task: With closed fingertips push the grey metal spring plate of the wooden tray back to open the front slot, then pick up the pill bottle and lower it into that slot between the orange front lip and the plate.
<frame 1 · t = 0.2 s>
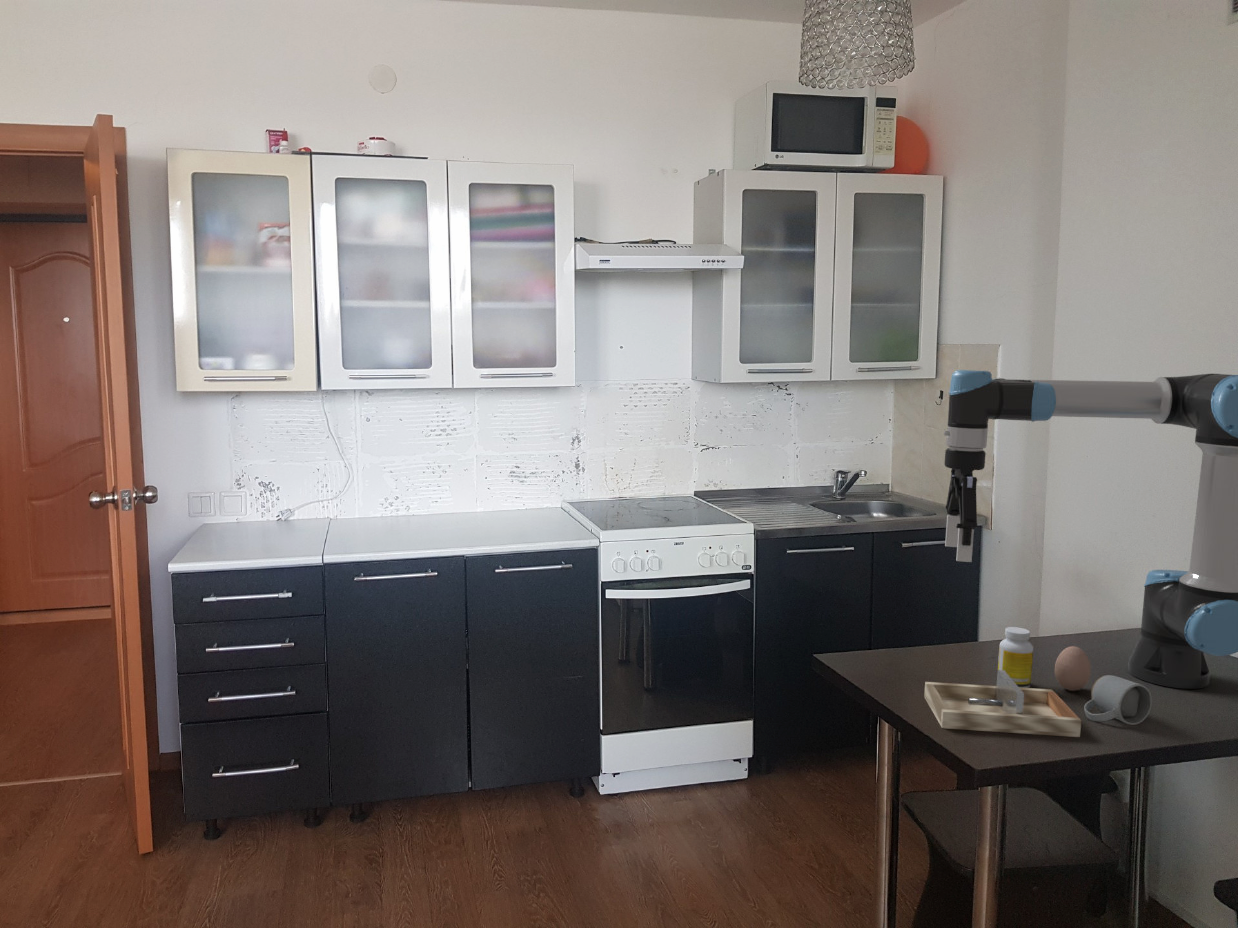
hand: (957, 553, 192), 27 cm above the table, fingers open, 13 cm apart
ceramic mug: (1113, 719, 181), on the table
pill bottle: (1013, 685, 197), on the table
pusher: (991, 695, 180), point 4 cm above the table, slide at 0.0 cm
wooden tray: (998, 715, 180), on the table
egg: (1070, 690, 195), on the table
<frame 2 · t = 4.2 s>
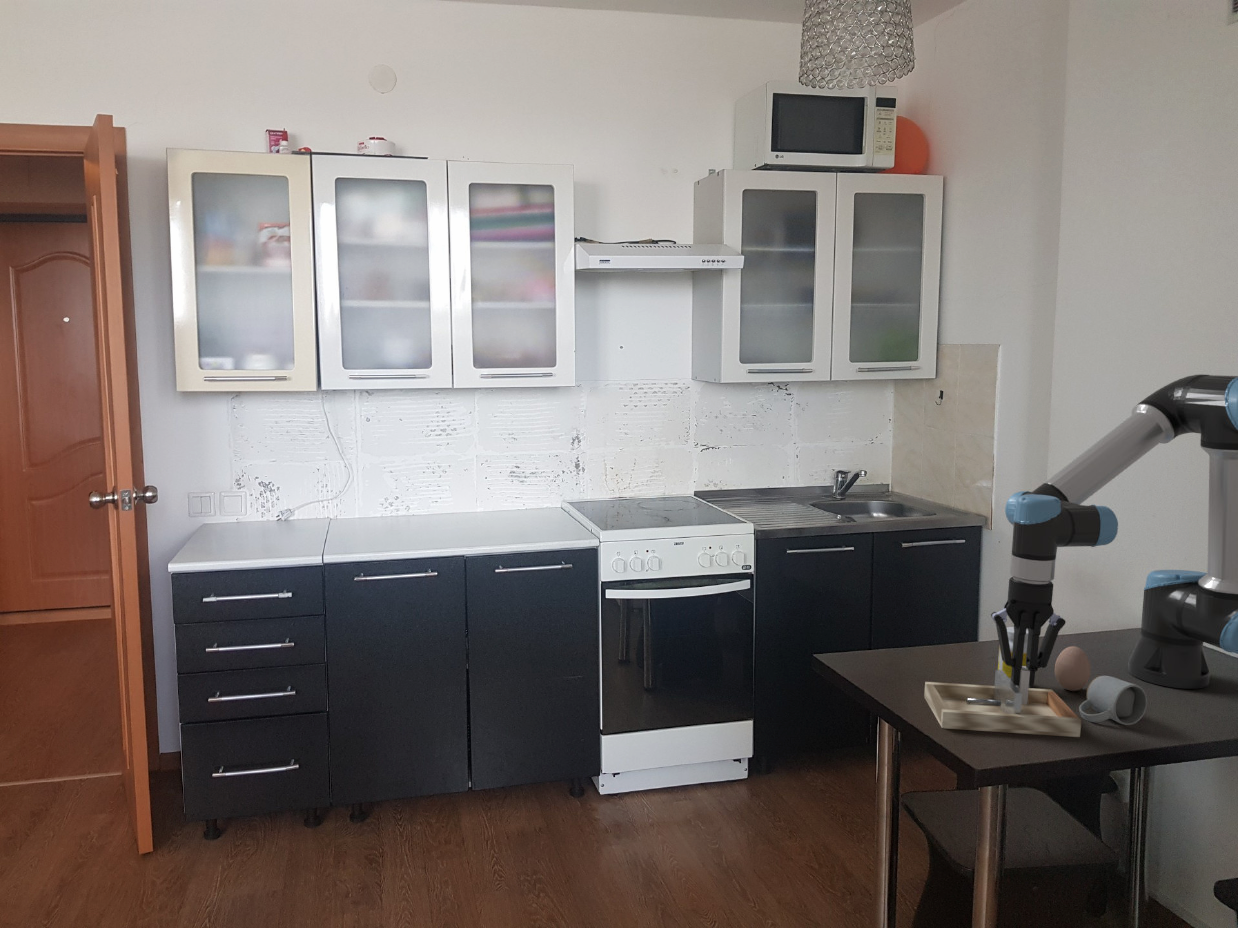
hand: (1020, 701, 179), 3 cm above the table, fingers closed
ceramic mug: (1108, 719, 181), on the table
pusher: (989, 695, 180), point 4 cm above the table, slide at 0.4 cm, touching gripper
everything else where it was.
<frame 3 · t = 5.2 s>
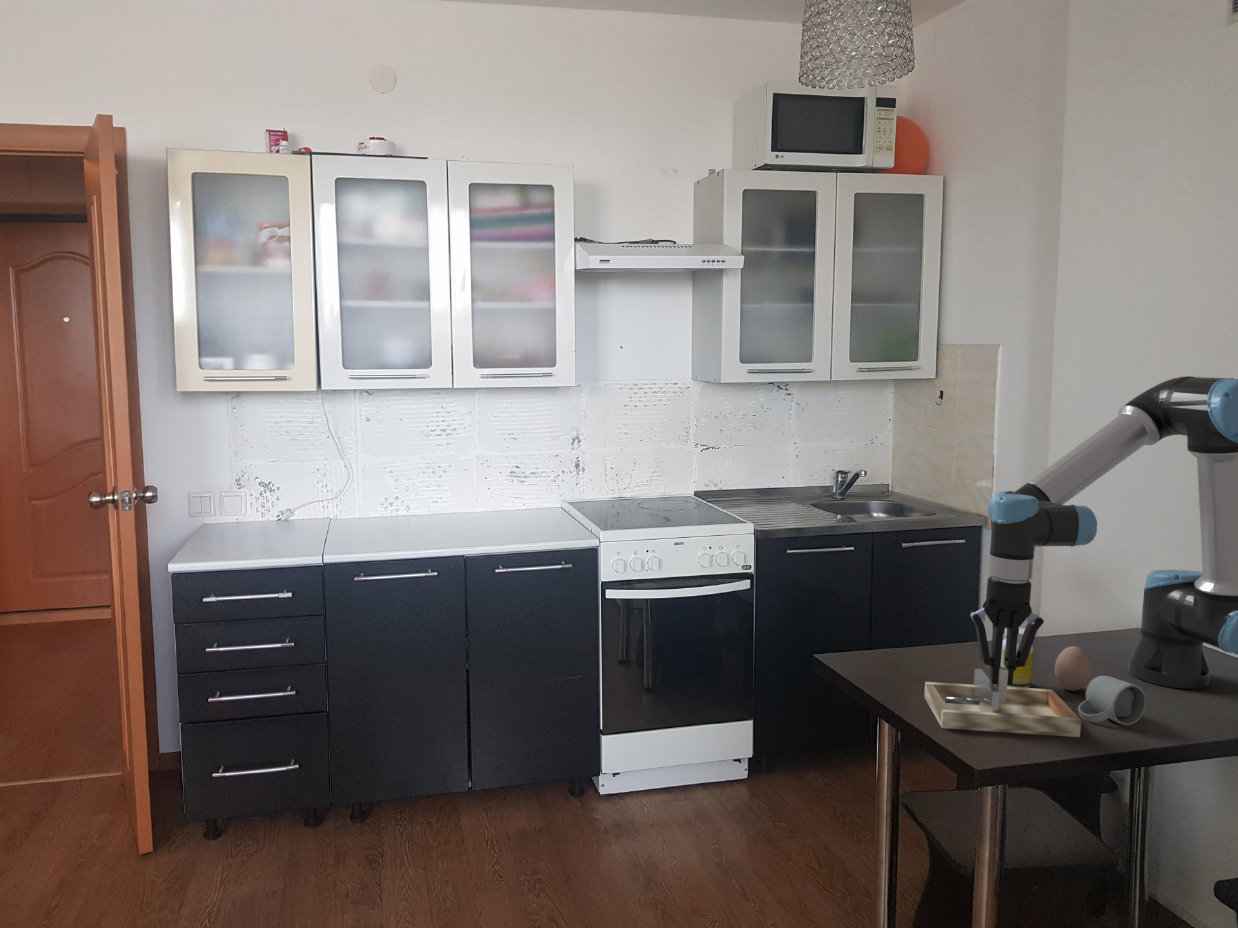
hand: (999, 700, 180), 3 cm above the table, fingers closed
pusher: (967, 694, 180), point 4 cm above the table, slide at 4.2 cm, touching gripper
everything else where it was.
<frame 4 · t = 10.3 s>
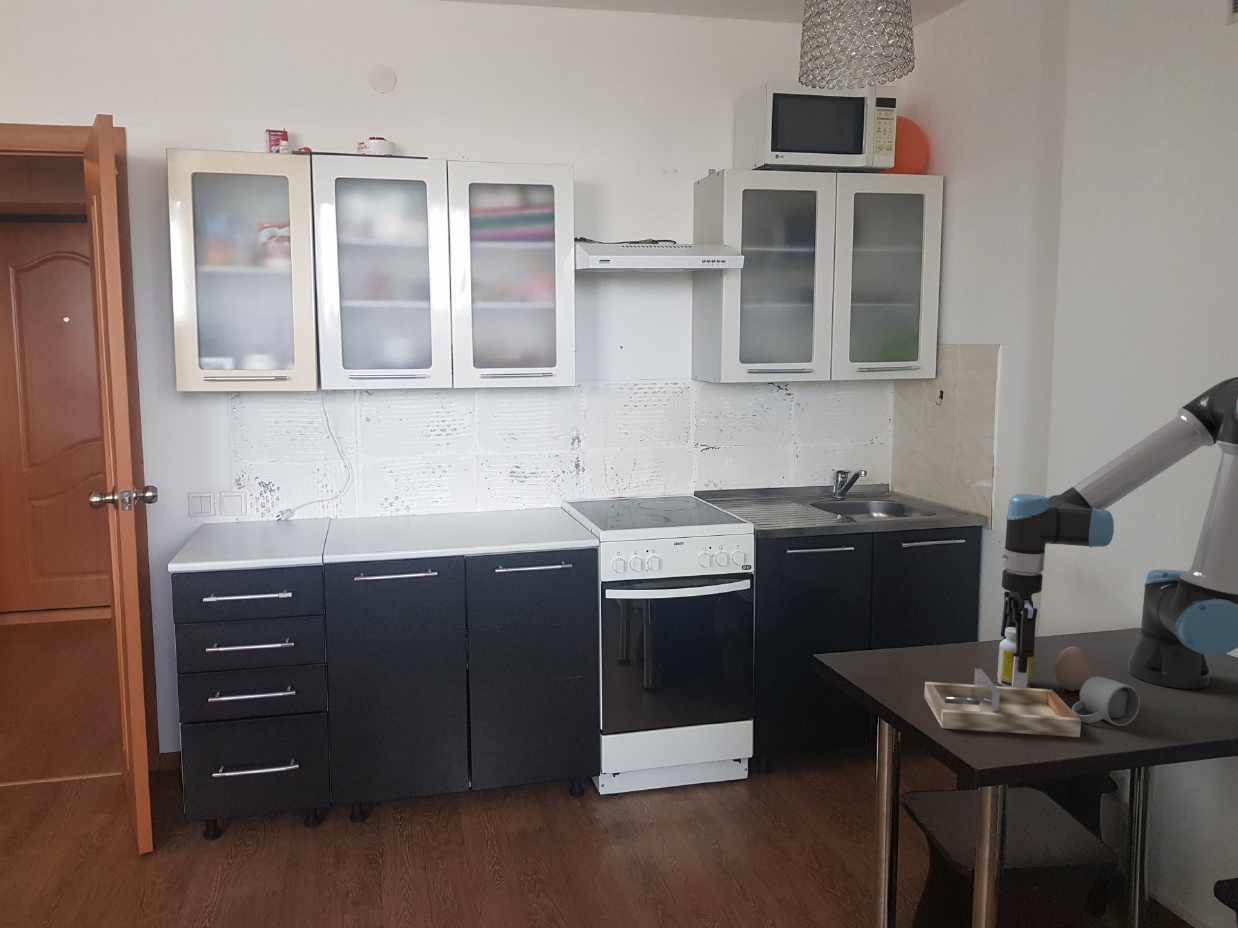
hand: (1013, 680, 197), 1 cm above the table, fingers closed on pill bottle, 6 cm apart
ceramic mug: (1101, 720, 180), on the table
pill bottle: (1013, 685, 197), on the table, touching gripper
pusher: (967, 694, 180), point 4 cm above the table, slide at 4.3 cm
everything else where it was.
when the fingers open (3 cm above the table, at t = 15.4 s): pill bottle drops 2 cm, resting on wooden tray.
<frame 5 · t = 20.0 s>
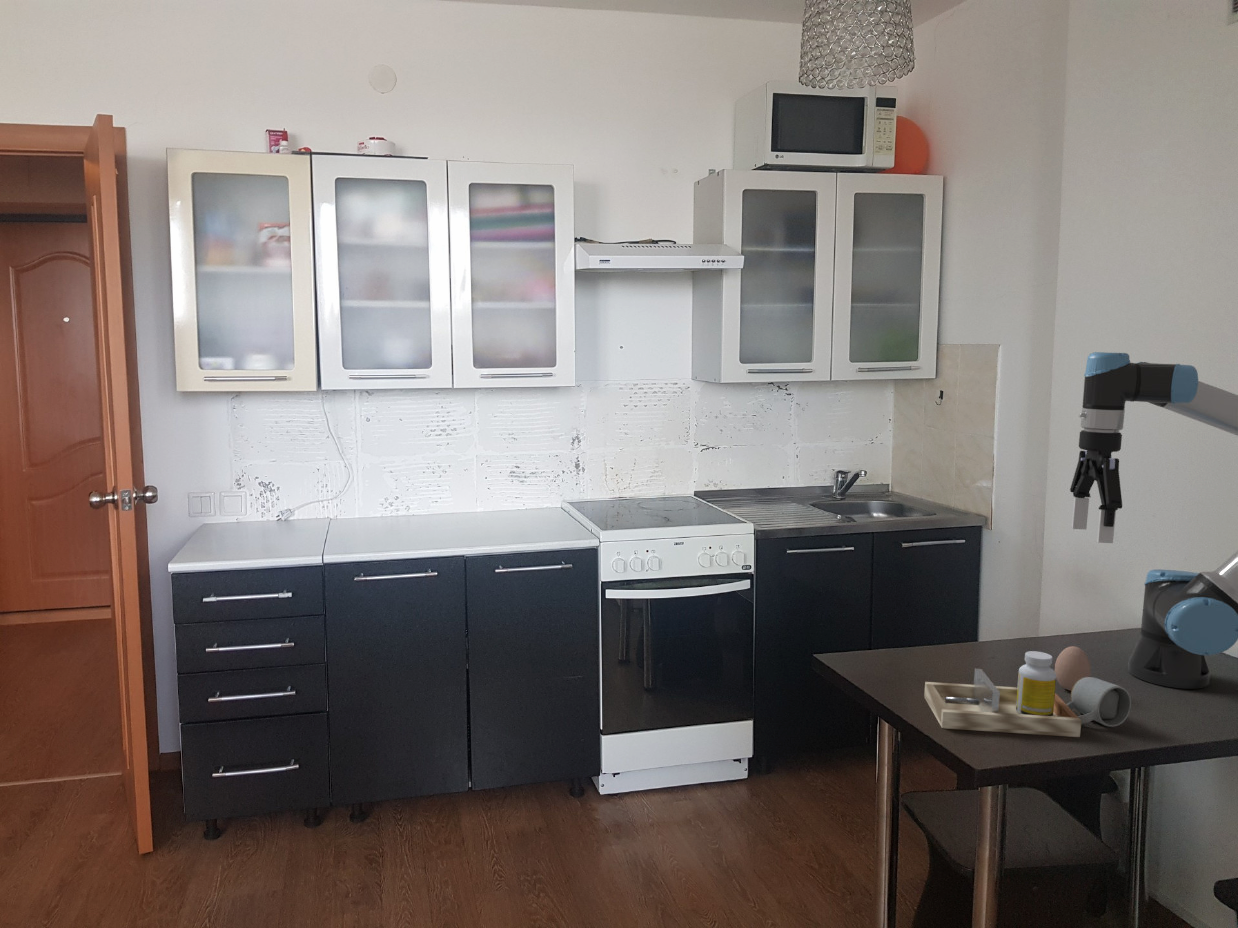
hand: (1091, 535, 193), 32 cm above the table, fingers open, 13 cm apart
ceramic mug: (1092, 721, 179), on the table
pill bottle: (1033, 715, 179), resting on wooden tray
everything else where it was.
at the end: pill bottle inside the target area on the wooden tray (0.5 cm from its centre), point 0.4 cm above the wooden tray's base; pill bottle tilted 0°; the gripper is holding nothing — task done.
